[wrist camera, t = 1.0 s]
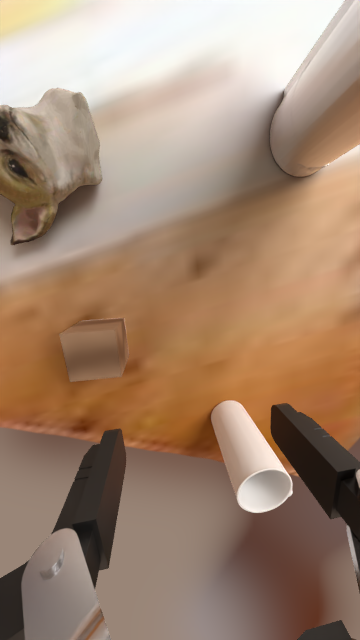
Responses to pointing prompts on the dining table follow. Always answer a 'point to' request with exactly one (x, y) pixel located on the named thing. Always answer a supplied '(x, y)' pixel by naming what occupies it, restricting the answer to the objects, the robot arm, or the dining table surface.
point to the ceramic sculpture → (46, 158)
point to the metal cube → (95, 349)
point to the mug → (249, 460)
